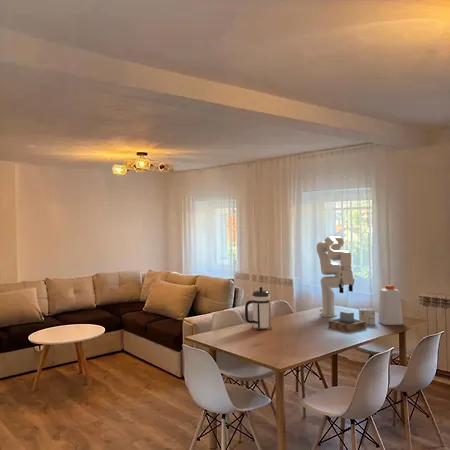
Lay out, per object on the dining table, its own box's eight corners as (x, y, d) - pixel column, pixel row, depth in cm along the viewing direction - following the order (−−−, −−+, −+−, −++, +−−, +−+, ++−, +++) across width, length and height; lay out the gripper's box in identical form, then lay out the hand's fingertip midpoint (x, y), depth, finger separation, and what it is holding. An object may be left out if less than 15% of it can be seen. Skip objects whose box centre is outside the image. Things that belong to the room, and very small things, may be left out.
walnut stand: (328, 327, 319) (328, 320, 319) (345, 324, 329) (345, 316, 329) (348, 332, 304) (348, 324, 304) (365, 328, 314) (365, 320, 314)
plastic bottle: (397, 321, 335) (396, 284, 335) (404, 325, 320) (403, 286, 320) (377, 321, 336) (376, 284, 336) (383, 325, 321) (382, 287, 321)
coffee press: (255, 325, 330) (254, 285, 330) (275, 327, 322) (274, 286, 322) (245, 330, 315) (244, 288, 315) (265, 332, 307) (265, 289, 307)
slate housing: (349, 322, 312) (348, 313, 312) (339, 319, 319) (338, 311, 319) (353, 321, 315) (353, 312, 315) (343, 318, 322) (343, 310, 322)
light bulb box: (373, 322, 332) (373, 308, 332) (375, 324, 325) (375, 310, 325) (358, 322, 333) (358, 308, 333) (360, 324, 326) (360, 310, 326)
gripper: (341, 270, 314) (341, 294, 314) (358, 268, 323) (358, 291, 323) (333, 269, 320) (333, 292, 320) (349, 267, 329) (350, 290, 330)
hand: (346, 292), depth 322 cm, fingers open, 9 cm apart
